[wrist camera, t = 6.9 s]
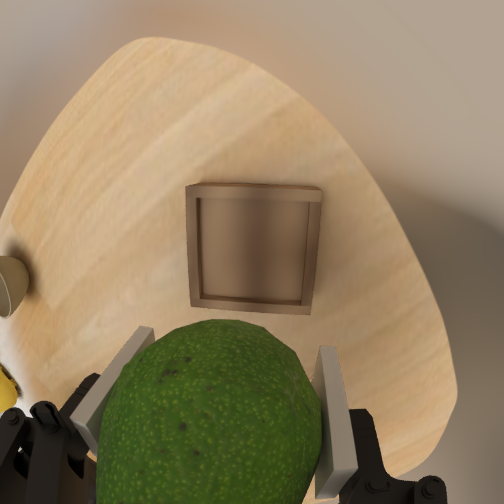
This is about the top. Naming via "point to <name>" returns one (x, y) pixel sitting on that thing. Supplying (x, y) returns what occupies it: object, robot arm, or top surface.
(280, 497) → the avocado
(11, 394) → the teapot
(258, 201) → the base
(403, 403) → the top surface
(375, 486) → the robot arm
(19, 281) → the grey bowl
